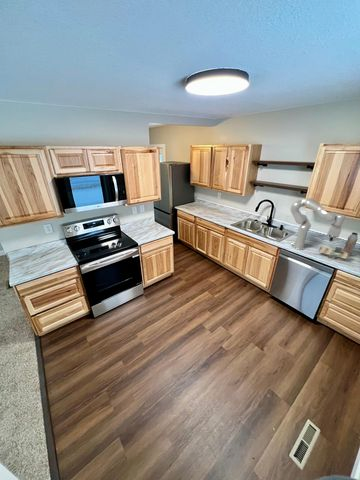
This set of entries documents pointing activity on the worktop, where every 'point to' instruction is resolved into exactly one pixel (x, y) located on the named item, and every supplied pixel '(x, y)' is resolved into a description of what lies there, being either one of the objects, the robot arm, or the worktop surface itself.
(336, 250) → the rider
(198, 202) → the worktop surface
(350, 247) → the thermos bottle
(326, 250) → the beam
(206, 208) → the worktop surface
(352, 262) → the worktop surface
